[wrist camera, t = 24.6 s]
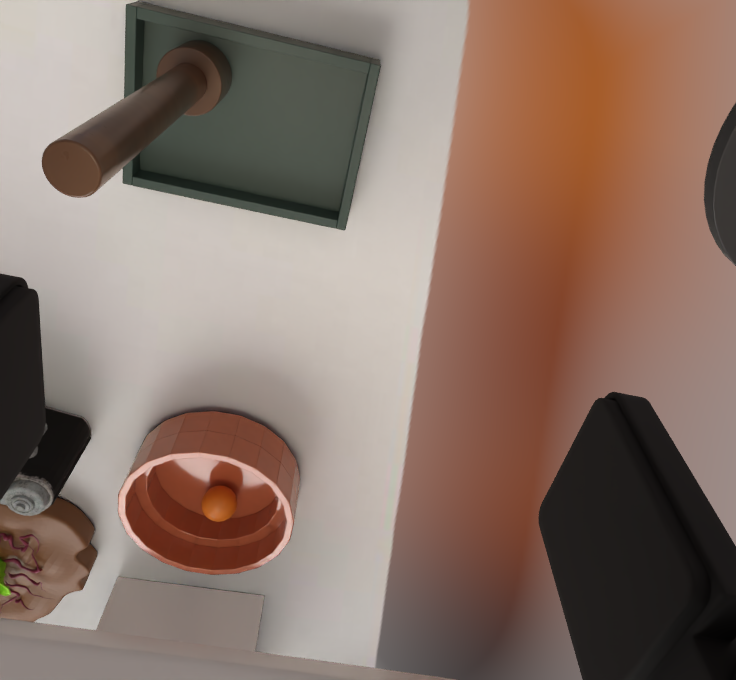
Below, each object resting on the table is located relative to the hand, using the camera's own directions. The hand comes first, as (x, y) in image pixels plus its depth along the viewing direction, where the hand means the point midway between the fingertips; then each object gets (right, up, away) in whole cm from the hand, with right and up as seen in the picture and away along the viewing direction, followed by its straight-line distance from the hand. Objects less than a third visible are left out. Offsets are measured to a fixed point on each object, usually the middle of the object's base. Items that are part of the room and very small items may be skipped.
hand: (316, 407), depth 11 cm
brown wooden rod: (-9, +17, +27) cm, 33 cm away
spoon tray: (-6, +15, +29) cm, 33 cm away
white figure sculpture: (-18, -28, +56) cm, 65 cm away
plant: (-36, -18, +50) cm, 63 cm away
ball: (-12, -13, +44) cm, 47 cm away
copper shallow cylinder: (-12, -10, +44) cm, 47 cm away
